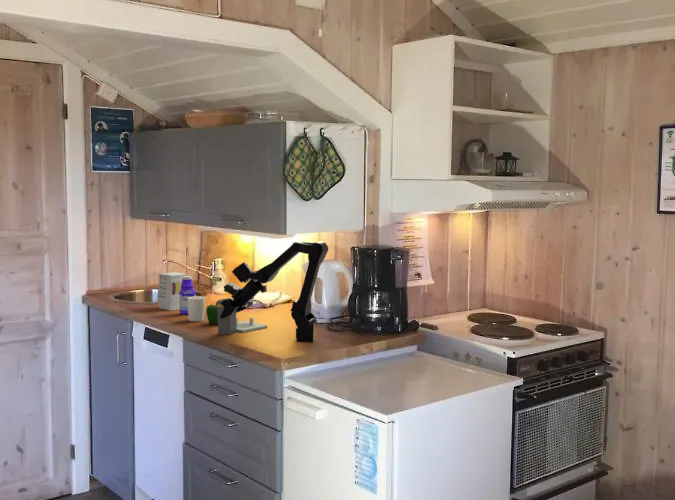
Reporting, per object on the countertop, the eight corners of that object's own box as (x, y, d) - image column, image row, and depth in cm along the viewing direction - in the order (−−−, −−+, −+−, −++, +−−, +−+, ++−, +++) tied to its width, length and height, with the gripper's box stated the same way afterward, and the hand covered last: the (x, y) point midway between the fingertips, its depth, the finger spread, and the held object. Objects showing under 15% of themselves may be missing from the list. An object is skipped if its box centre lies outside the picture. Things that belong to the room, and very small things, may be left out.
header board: (267, 327, 313) (267, 319, 312) (243, 332, 302) (243, 324, 301) (243, 323, 321) (243, 315, 321) (219, 327, 310) (219, 319, 310)
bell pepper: (208, 326, 314) (208, 302, 313) (204, 322, 322) (204, 299, 321) (228, 324, 317) (228, 301, 316) (223, 321, 325) (223, 298, 324)
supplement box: (170, 311, 347) (170, 275, 345) (158, 308, 353) (157, 273, 351) (186, 308, 354) (186, 273, 353) (174, 306, 360) (173, 271, 358)
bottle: (180, 315, 336) (180, 277, 335) (178, 313, 341) (178, 275, 340) (196, 314, 339) (196, 276, 338) (193, 312, 344) (193, 275, 343)
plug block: (236, 331, 303) (235, 299, 301) (230, 334, 297) (229, 301, 296) (224, 331, 304) (223, 298, 303) (218, 333, 299) (216, 300, 298)
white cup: (197, 322, 321) (197, 299, 320) (183, 320, 325) (183, 298, 324) (209, 319, 328) (209, 297, 327) (195, 317, 332) (195, 295, 331)
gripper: (246, 273, 306) (222, 298, 311) (225, 279, 288) (200, 305, 293) (263, 293, 304) (239, 318, 309) (243, 300, 287) (218, 326, 291)
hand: (224, 316), depth 301 cm, fingers closed on plug block, 6 cm apart
